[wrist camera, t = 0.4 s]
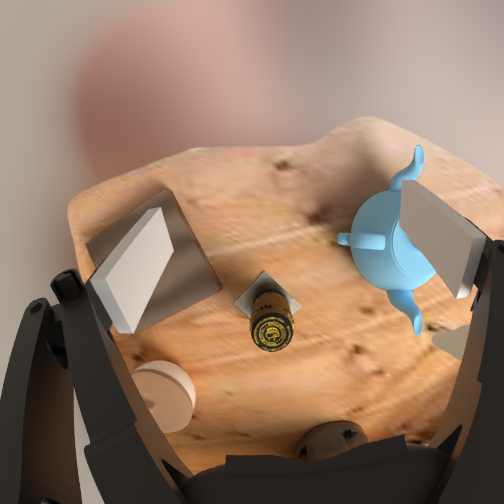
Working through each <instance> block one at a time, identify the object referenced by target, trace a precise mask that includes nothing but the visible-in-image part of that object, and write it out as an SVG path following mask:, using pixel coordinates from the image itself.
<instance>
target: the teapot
mask: <svg viewBox="0 0 504 504" xmlns="http://www.w3.org/2000/svg"><path fill="white" fill-rule="evenodd" d="M423 165H424V152H423V148H422V147H421V146H420V145H417V147H416V149H415V153H414V157H413V160H412V162H411V164H410V165H409V166H408V167H406V168H405V169H403V170H401V171H399V172H398V173H397V174H396V175H395V176H394V177H393V178H392V180H391V182H390V185H389V188H388V190H386V191H382V192H379V193H377V194H375V195H373V196H372V197H370V198H369V199H368V200H367V201H365V202H364V203H363V205H362V206H361V207H360V209H359V210H358V212H357V214H356V216H355V218H354V221H353V224H352V228H351V233H339V234H338V236H337V242H338V244H341V245H347V246H350V247H351V253H352V257H353V260H354V263H355V265H356V267H357V269H358V271H359V272H360V274H361V275H362V276H363V277H364V278H365V279H366V280H367V281H368V282H369V283H370V284H372V285H373V286H375V287H377V288H380V289H383V290H386V291H387V294H388V298H389V300H390V302H391V304H392V305H393V306H394V307H395V308H396V309H398V310H400V311H401V312H403V313H405V314H406V315H408V316H409V318H410V319H411V321H412V325H413V329H414V333H415V334H416V335H417V336H418V335H420V333H421V331H422V325H423V320H422V314H421V311H420V309H419V308H418V306H417V305H416V304H415V303H414V299H413V289H414V288H417V287H419V286H421V285H423V284H424V283H426V282H427V281H428V280H429V279H430V278H431V277H432V276H433V275H434V274H435V273H436V271H435V269H434V268H433V267H432V265H431V264H430V263H429V261H428V260H427V259H426V258H425V256H424V255H423V254H422V253H421V251H420V250H419V249H418V248H417V246H416V245H415V244H414V243H413V242H412V240H411V239H410V238H409V237H408V236H407V234H406V233H405V232H404V231H403V230H402V229H401V227H400V226H399V220H400V207H401V188H402V180H415V181H416V178H417V177H418V175H419V174H420V173H421V171H422V168H423Z"/></svg>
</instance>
